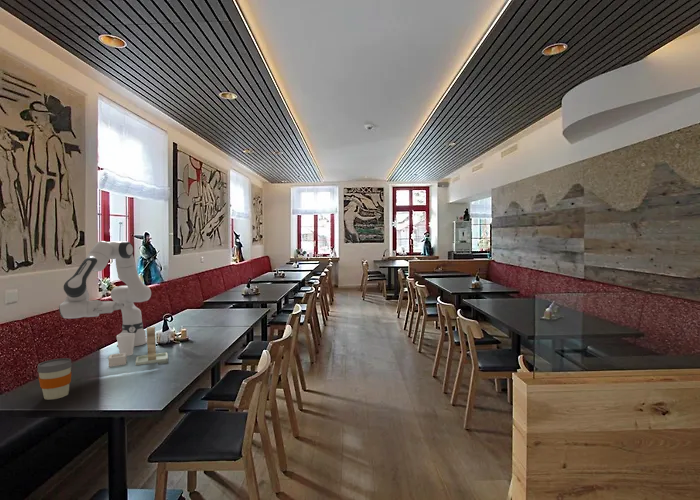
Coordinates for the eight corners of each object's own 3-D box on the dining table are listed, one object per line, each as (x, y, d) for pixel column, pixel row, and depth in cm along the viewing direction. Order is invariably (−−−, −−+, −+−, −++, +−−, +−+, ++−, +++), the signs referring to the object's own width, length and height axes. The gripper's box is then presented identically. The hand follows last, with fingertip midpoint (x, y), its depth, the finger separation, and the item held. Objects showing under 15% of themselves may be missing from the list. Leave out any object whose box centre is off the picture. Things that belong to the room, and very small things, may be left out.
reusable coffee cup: (53, 390, 192) (51, 358, 192) (79, 390, 192) (78, 357, 191) (31, 401, 180) (29, 367, 179) (59, 401, 179) (58, 366, 179)
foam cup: (127, 358, 241) (126, 336, 240) (113, 358, 243) (112, 336, 242) (139, 354, 250) (138, 332, 250) (125, 353, 252) (124, 332, 252)
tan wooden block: (148, 359, 235) (146, 327, 234) (156, 358, 237) (154, 326, 236) (148, 360, 231) (146, 328, 231) (156, 359, 233) (154, 327, 232)
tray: (136, 360, 237) (136, 356, 237) (167, 356, 244) (167, 352, 244) (135, 367, 224) (135, 362, 224) (168, 362, 231) (167, 358, 231)
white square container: (110, 364, 231) (110, 354, 231) (126, 362, 234) (126, 352, 234) (108, 368, 224) (108, 358, 223) (125, 366, 227) (125, 356, 227)
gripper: (91, 305, 217) (122, 302, 223) (97, 300, 235) (125, 298, 241) (92, 317, 217) (122, 314, 223) (97, 311, 236) (125, 308, 241)
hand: (123, 305), depth 232 cm, fingers open, 8 cm apart
